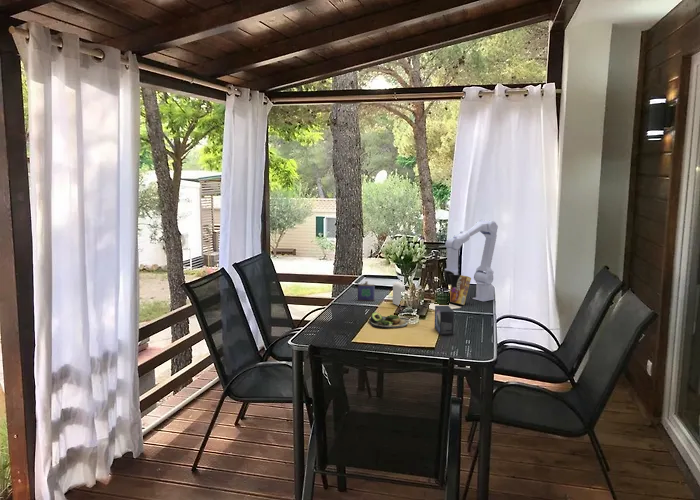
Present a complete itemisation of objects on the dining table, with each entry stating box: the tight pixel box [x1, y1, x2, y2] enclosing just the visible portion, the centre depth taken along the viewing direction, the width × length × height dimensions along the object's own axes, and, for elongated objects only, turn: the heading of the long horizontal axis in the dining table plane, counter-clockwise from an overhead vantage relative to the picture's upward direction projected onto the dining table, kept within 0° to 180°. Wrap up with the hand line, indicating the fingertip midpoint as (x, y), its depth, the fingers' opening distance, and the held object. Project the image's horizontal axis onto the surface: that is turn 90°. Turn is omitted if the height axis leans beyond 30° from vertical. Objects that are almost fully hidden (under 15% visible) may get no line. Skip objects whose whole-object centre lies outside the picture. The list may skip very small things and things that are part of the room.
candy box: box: [449, 274, 472, 306], centre depth 289 cm, size 9×4×15 cm, turn 39°
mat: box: [429, 302, 462, 311], centre depth 283 cm, size 16×14×1 cm
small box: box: [434, 305, 455, 336], centre depth 238 cm, size 11×6×10 cm, turn 5°
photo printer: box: [392, 281, 407, 307], centre depth 284 cm, size 10×4×12 cm, turn 26°
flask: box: [357, 281, 376, 302], centre depth 294 cm, size 9×3×11 cm, turn 88°
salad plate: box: [368, 312, 410, 330], centre depth 250 cm, size 19×18×5 cm
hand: (451, 285), depth 288 cm, fingers open, 7 cm apart
